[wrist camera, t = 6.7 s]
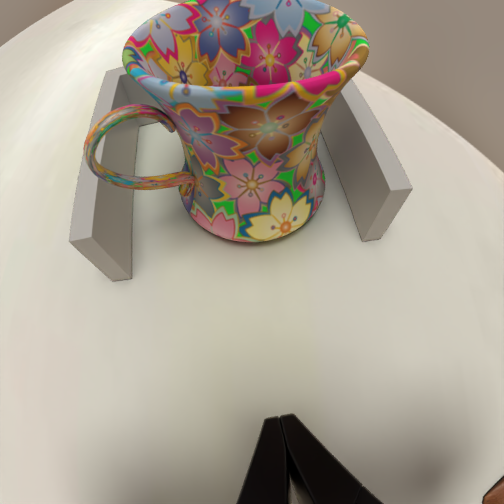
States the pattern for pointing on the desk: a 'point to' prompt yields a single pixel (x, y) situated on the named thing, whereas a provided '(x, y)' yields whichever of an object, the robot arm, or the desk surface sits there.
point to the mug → (240, 107)
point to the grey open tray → (126, 133)
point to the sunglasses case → (495, 494)
